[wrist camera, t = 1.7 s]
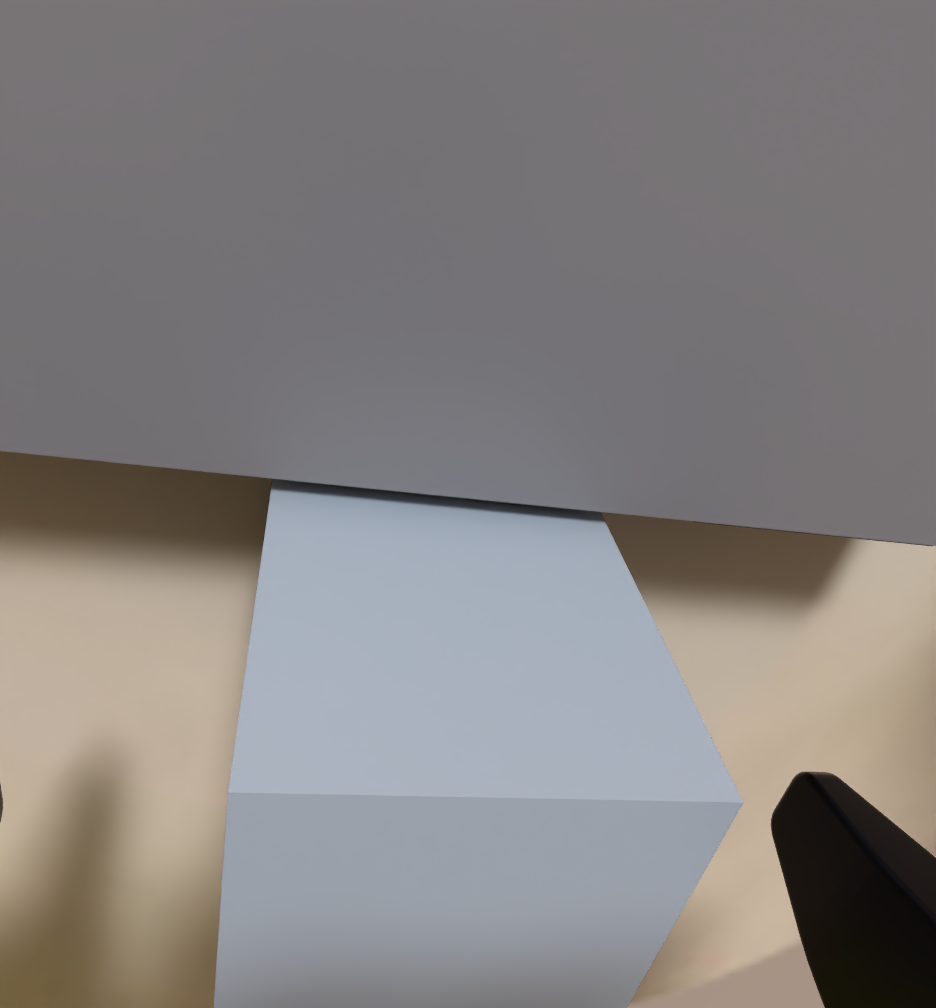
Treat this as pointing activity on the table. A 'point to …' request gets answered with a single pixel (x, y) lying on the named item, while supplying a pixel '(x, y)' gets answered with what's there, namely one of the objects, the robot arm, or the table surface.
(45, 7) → the power strip
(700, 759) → the block
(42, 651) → the table surface
